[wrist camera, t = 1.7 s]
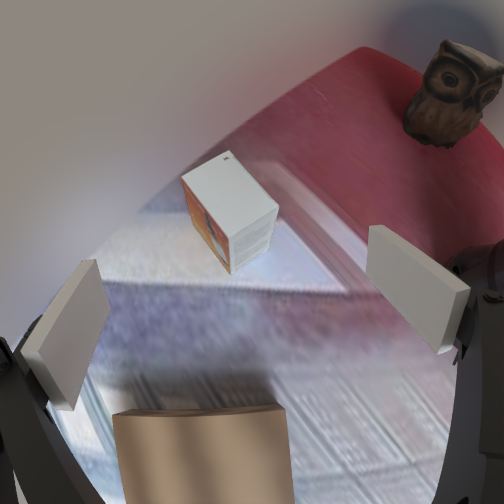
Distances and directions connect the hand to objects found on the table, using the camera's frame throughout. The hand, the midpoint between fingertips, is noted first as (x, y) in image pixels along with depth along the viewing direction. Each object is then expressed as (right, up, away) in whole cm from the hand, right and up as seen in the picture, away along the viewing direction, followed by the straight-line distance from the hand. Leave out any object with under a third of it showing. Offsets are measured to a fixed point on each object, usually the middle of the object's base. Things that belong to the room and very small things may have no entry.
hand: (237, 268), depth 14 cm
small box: (-2, +2, +23) cm, 23 cm away
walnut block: (-4, -22, +13) cm, 26 cm away
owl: (+33, +24, +33) cm, 52 cm away
